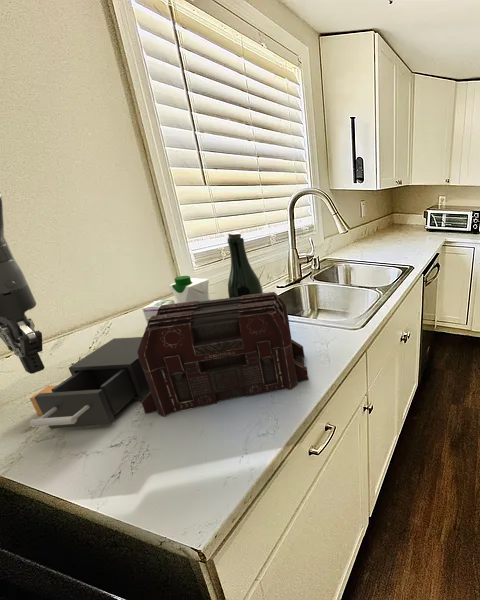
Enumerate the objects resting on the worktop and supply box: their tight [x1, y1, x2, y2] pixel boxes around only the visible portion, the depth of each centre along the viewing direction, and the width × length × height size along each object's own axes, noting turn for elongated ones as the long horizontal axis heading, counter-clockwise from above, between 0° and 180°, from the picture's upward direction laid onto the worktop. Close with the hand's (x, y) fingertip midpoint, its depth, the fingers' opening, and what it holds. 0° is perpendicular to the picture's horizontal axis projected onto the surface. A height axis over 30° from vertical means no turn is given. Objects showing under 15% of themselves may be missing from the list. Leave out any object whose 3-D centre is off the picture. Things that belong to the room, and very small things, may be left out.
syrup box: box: [142, 299, 176, 324], centre depth 97 cm, size 6×6×14 cm
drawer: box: [29, 368, 137, 430], centre depth 69 cm, size 17×12×8 cm
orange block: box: [29, 384, 58, 416], centre depth 73 cm, size 4×4×4 cm
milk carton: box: [168, 275, 211, 303], centre depth 104 cm, size 9×9×20 cm
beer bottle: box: [227, 232, 264, 298], centre depth 102 cm, size 10×10×33 cm
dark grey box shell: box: [68, 336, 150, 402], centre depth 80 cm, size 14×13×10 cm
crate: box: [137, 291, 309, 418], centre depth 79 cm, size 35×19×21 cm, turn 110°
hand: (36, 370), depth 63 cm, fingers closed
